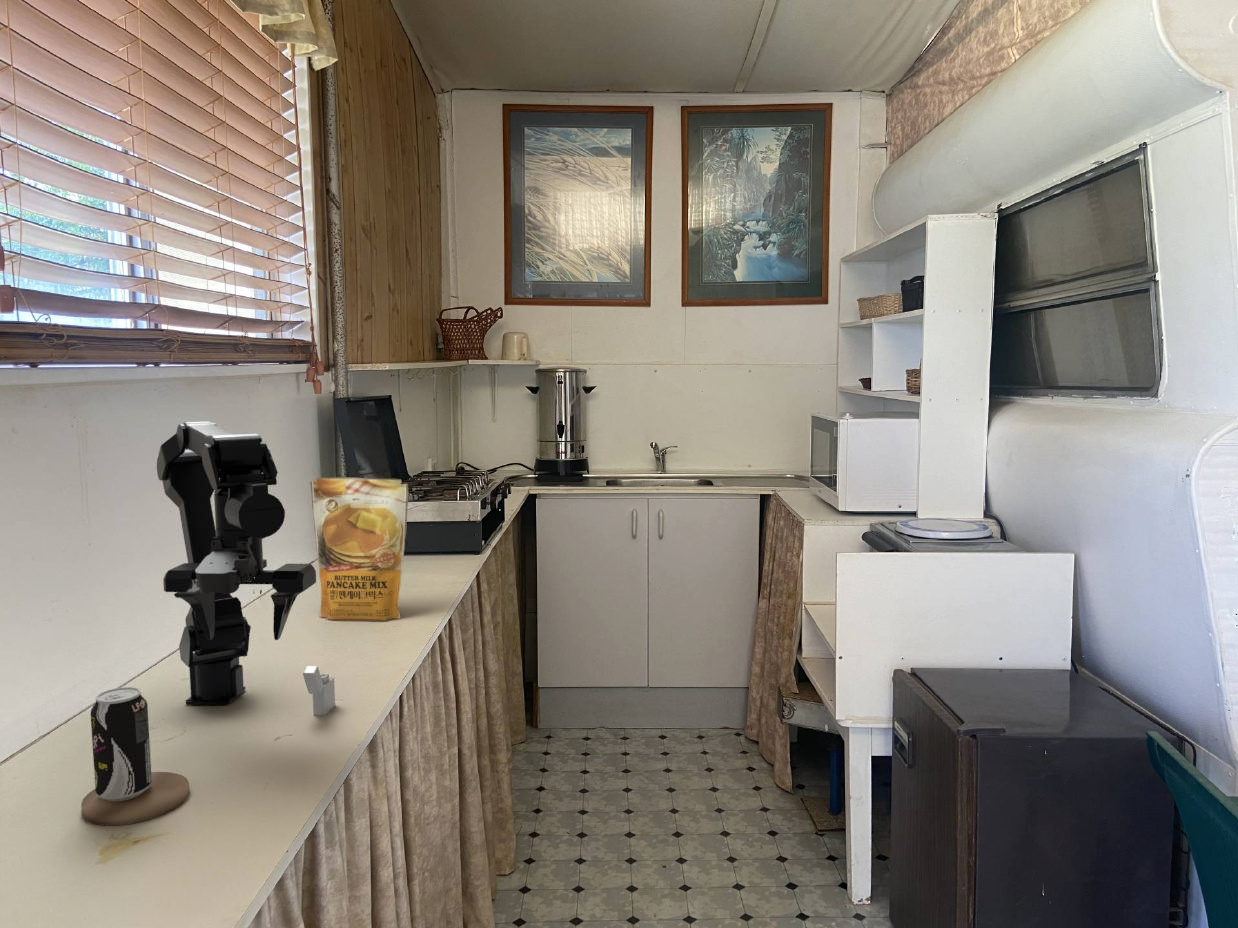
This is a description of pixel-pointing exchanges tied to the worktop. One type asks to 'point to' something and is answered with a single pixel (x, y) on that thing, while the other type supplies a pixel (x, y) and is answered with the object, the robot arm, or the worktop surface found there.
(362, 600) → the pancake mix bag
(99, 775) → the beverage can
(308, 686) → the lighter
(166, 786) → the bronze round coaster
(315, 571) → the robot arm
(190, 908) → the worktop surface
